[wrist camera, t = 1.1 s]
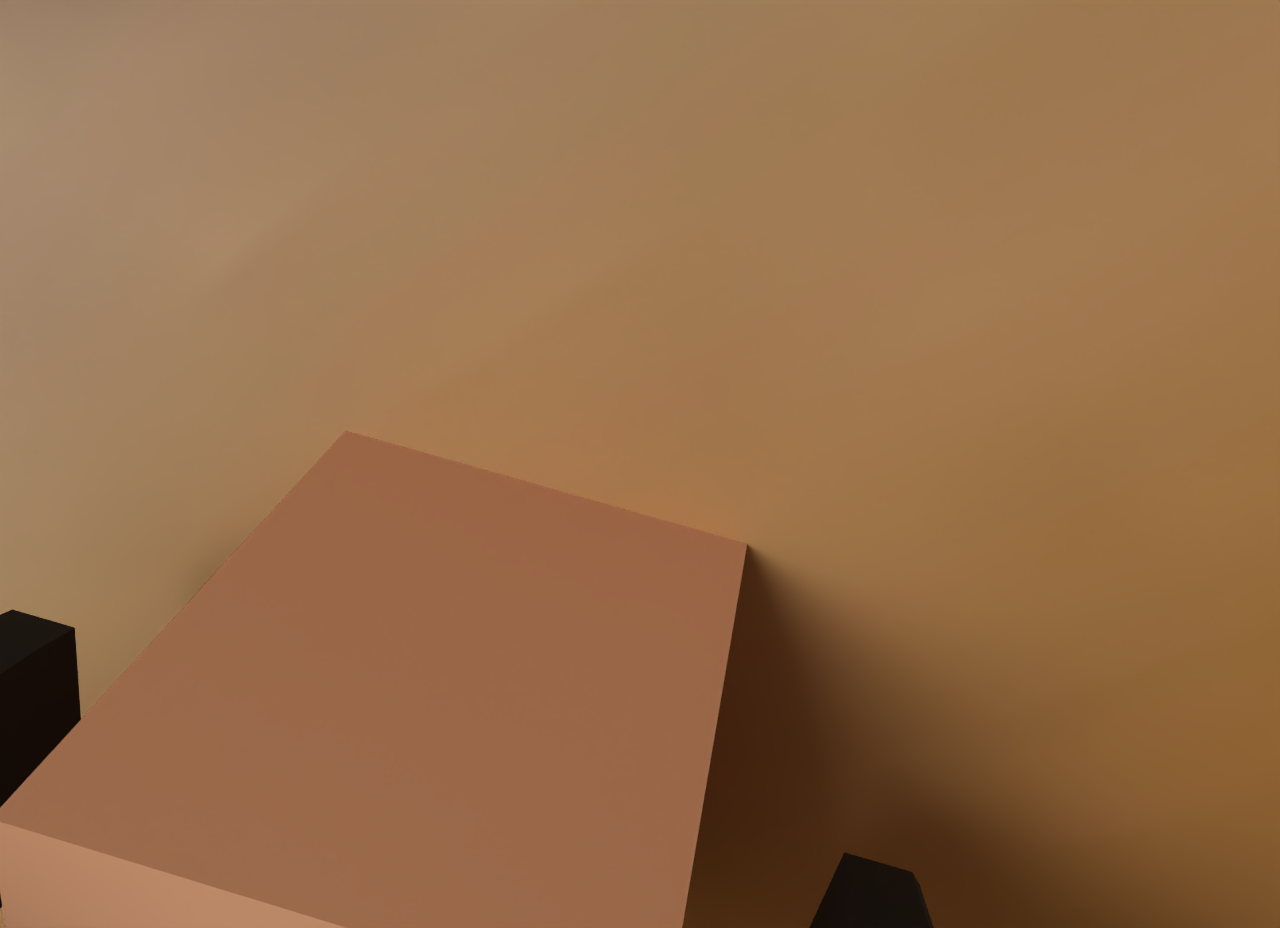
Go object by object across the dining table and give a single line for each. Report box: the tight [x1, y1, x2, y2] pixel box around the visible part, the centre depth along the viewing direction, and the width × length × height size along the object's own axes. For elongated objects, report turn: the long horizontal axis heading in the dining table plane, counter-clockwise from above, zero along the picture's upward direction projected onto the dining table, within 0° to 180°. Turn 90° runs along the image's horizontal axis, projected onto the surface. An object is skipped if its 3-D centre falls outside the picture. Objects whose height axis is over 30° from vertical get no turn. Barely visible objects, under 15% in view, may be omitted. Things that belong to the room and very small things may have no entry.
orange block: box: [0, 431, 747, 928], centre depth 10 cm, size 4×5×5 cm
